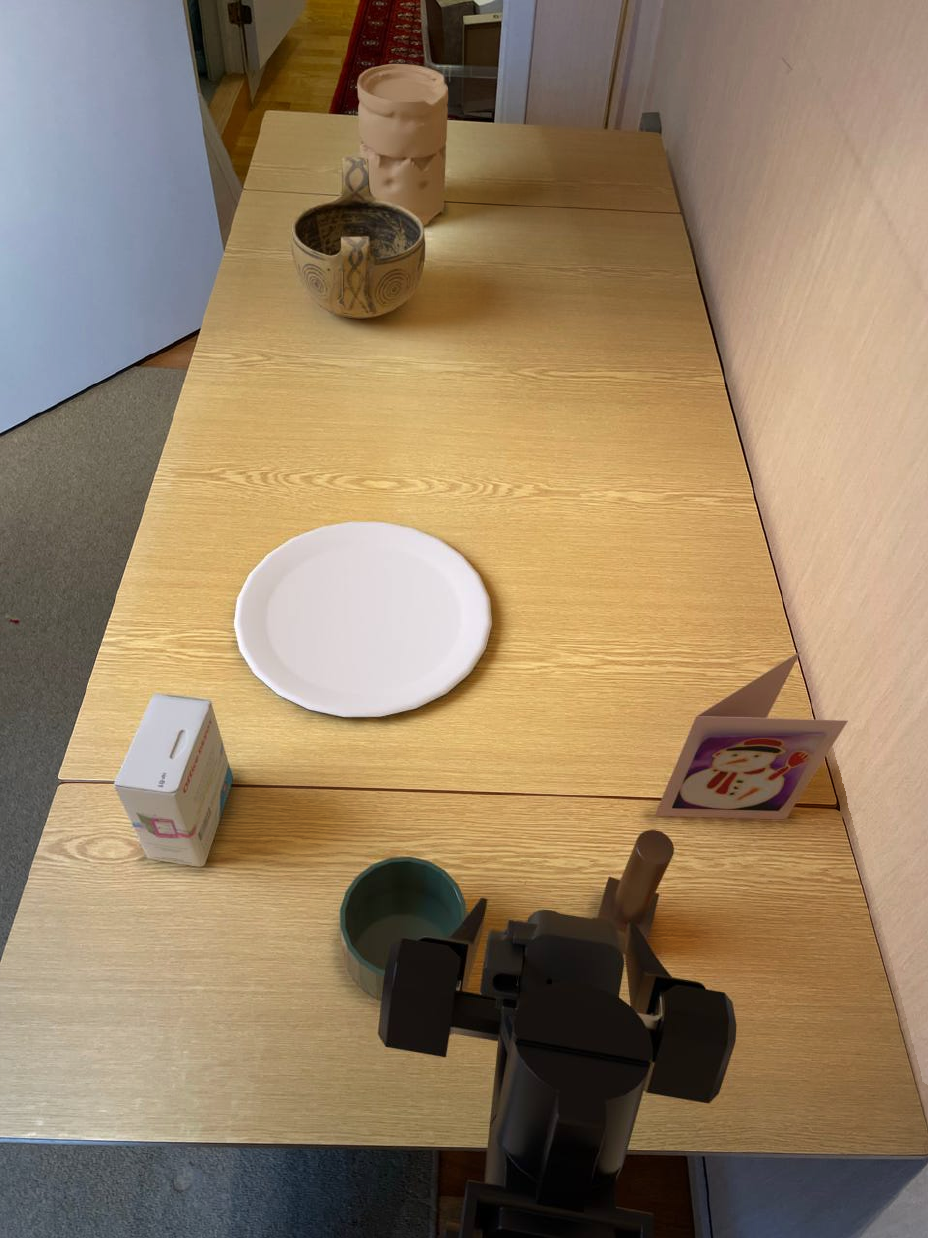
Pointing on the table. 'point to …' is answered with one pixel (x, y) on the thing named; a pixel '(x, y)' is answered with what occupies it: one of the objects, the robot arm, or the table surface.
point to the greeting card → (748, 756)
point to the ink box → (176, 779)
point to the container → (405, 136)
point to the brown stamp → (637, 885)
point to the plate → (363, 619)
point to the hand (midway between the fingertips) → (556, 915)
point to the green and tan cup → (395, 914)
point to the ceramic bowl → (358, 249)
